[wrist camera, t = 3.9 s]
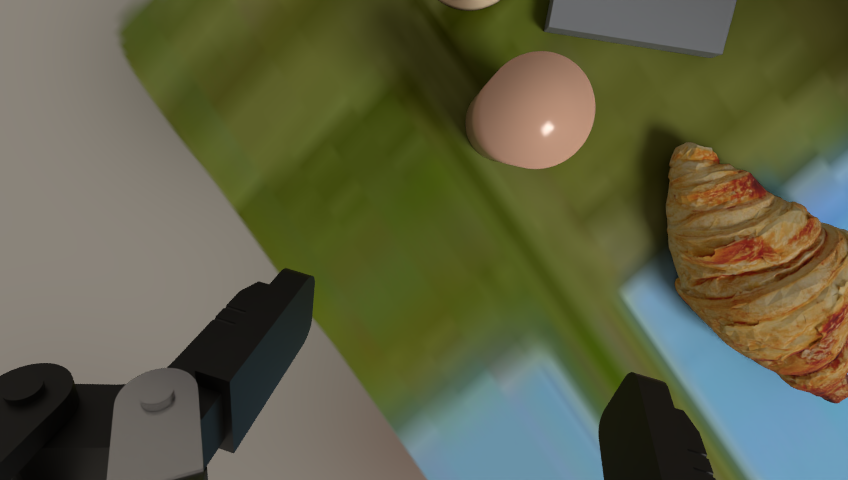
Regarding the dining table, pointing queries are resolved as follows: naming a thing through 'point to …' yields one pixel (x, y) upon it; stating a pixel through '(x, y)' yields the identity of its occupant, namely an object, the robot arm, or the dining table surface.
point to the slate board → (647, 23)
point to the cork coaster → (469, 4)
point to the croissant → (760, 271)
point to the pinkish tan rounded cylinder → (532, 112)
